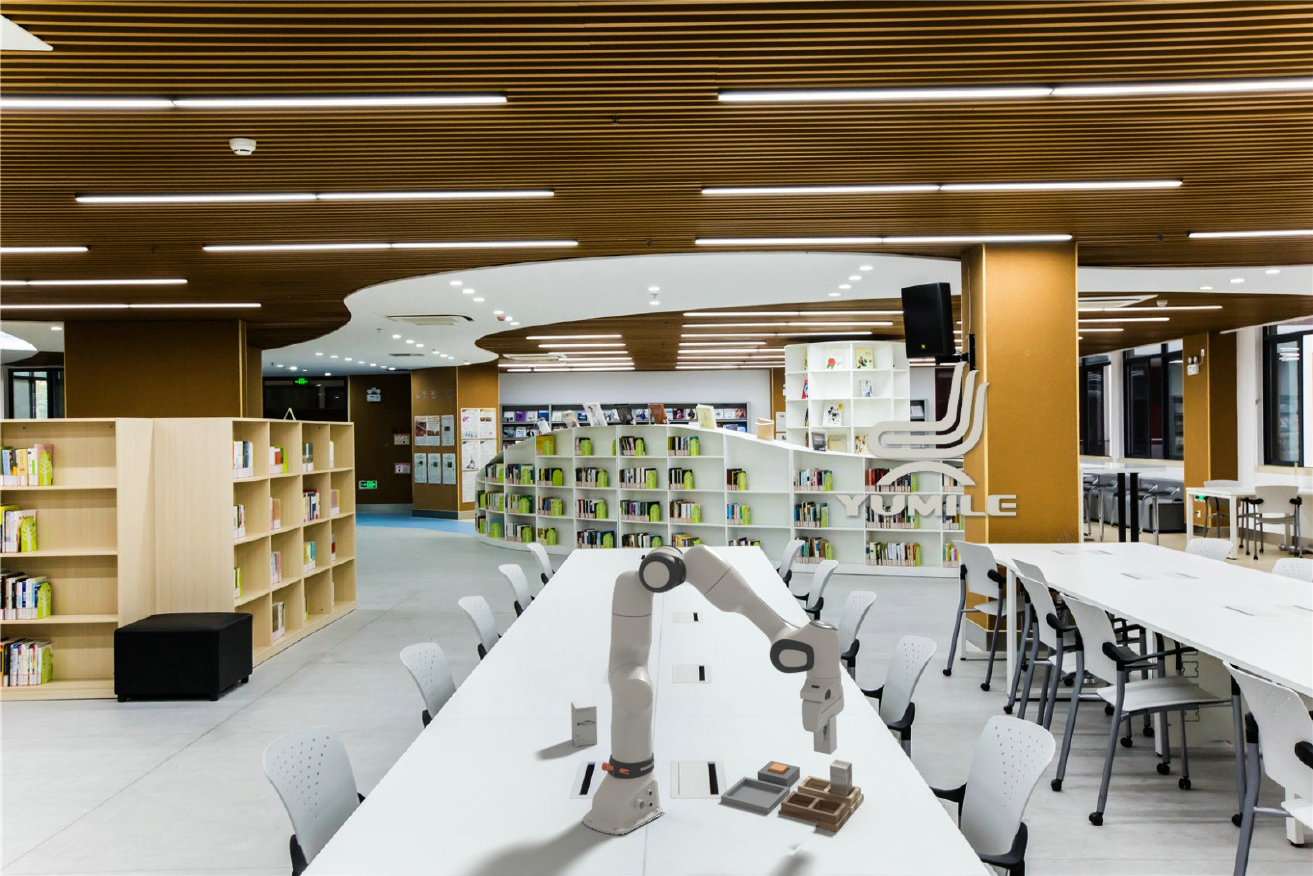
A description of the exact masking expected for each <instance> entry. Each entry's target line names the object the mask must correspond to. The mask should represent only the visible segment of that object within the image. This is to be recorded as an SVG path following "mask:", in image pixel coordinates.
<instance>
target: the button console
mask: <svg viewBox="0 0 1313 876" xmlns="http://www.w3.org/2000/svg"><path fill="white" fill-rule="evenodd" d="M775 763H777V764H781V765H786V766H788V771H787V772H786V773H785V774H783V775H782V774H778V773H774V772H769V768H770V767H771V766H772V765H774V764H775ZM800 769H801V768H800V766H796V765H791V764H786V763H783V762H777V761H772V760H770V761H769V762H768V763H766V765H764V766H763V767H762V768H760V769H759V770H758V771H757V780H760V781H765V782H769V783H773V784H777V785H781V786H785V787H790V788H791V787H792V785H794V784H795V783H796V782H797V781H798V780H799V779H800V778H801V775H800V771H801V770H800Z"/></svg>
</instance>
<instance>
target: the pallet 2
mask: <svg viewBox="0 0 1313 876" xmlns="http://www.w3.org/2000/svg"><path fill="white" fill-rule="evenodd" d="M777 811H778V812H777V813H778V814H781V815H785V816H787V817H791V818H796V819H799V820H803V821H807V822H811V823H815V824H816V825H815V827H816V828H821V829H823V830H827V829H829V830H828V831H831V830H832V831H831V832H835V831H836V833H838V832H837V831H839V830H840V829H841V828H842V827H843V826H842V825H844V824H845V823H846V822H847V821H846V820H848V819H850V818H851V817H850V816H851V814H850V811H849V810H847V804H846V803H841V802H837V801H833V800H829V799H825V798H821V797H817V796H812V795H808V794H804V793H800V792H798V791H795V790H793V791H791V792H790V794H789V795H788V796H787V797H785V798H784V799H783V800H782V801H781V802H780V808H779V810H777Z"/></svg>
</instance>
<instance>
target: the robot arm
mask: <svg viewBox="0 0 1313 876" xmlns="http://www.w3.org/2000/svg"><path fill="white" fill-rule="evenodd" d="M684 583H688V584H690V585H692V586H693V587H694V588H695V589H696V590H697V591H698V592H699V593H700V594H701V595H702V596H703V597H704V598H705V600H707V601H708V602H709V603H710V604H711V605H713V606H714V607H715V608H717V609H718V610H720V611H721V612H724V613H736V614H740V615H742V616H744V617H745V618H747V619H748V620H749V621H750V622H751V623H752V624H754V625H755V626H756V627H757V628H758V629H759V630H760V631H761V632H762V633H763V634H764V635H765V636H766V637H767V638H768V640H769V642H770V650H769V659H770V662H771V664H772V666H773V667H774V668H775V669H776V670H777V671H779V672H781V673H783V674H798V673H804V672H806V675H805V676H806V679H805V681H804V684H803V686H802V687H801V690H800V692H799V697H800V698H799V699H801V700H802V702H801V718H802V719H801V720H802V726H803V729H804V731H805V732H808V733H809V732H810V733H813V732H814V733H815V734H816V741H817V742H818V743H823V742H824V741H825V735H824V734H823V730H824V726H825V725H826V724H828V719H829V718H830V717H831V716H832V715H834V714H836V717H837V716H838V715H839V714H841V712H843V711H844V708H845V699H844V689H843V688H844V687H843V685H842V672H841V668H840V663H841V662H840V661H841V658H842V655H841V654H842V652H841V640H840V634H839V631H838V629H837V628H836V626H834V624H832V623H829V622H827V621H823V620H810V621H809V622H808V623H806V624H805V625H803V626H802V627H801V626H799V625H797V624H794V623H792V622H790V621H788V620H785V619H784V618H782V617H781V616H780V615H779V614H778V613H777V612H776V611H775V610H773V609H772V607H770V606H769V605H768V603H766V602H765V601H764V600H763V599H762V598H761V597H760V596H758V594H757V593H756V592H755V591H754V589H752V587H751V586H750V584H749V583H748V582H747V581H746V579H744V577H743V576H742V575H741V574H740V572H739V571H738V570H737V569H736V568H735V567H734V566H733V565H732V564H731V563H730V562H729V561H728V560H727V559H725V557H723V556H722V555H721V554H720V553H718V552H717V551H716V550H714V549H713V548H711V547H710V546H708V545H707V544H703V543H701V544H700V543H699V544H696V545H694V546H692V547H690V548H689V549H687V551H685V552H684V553H683V552H682V550H680V549H679V548H677V547H676V546H674V545H671V544H663V545H660V546H657V547H656V548H654V549H652V550H650V552H648V554H647V555H646V556H645V557H644V558H643V559H642V560H641V562H640V565H639V568H638V569H637V570H626V571H624V572H621V574H619V575H618V576H617V578H616V579H615V583H614V587H613V594H612V602H611V603H612V604H611V619H610V620H611V621H610V623H611V624H610V629H611V630H610V646H609V656H608V657H609V658H608V669H607V670H608V671H607V673H608V674H607V681H608V685H609V689H610V693H611V723H610V749H611V750H610V751H611V754H610V756H609V759H608V762H605V761H604V762H603V763H602V764H601V770H602V771H606V772H607V773H606V775H605V776H604V778H603V780H602V782H600V785H599V787H598V788H597V790H596V791H595V793H594V795H593V796H592V802H591V809H590V810H589V811H588V812H587V813H585V815H584V816H583V817H582V823H583V822H584V823H583V824H584V825H585V824H586V825H587V826H586V825H585V826H586V827H588V826H589V827H588V828H590V829H592V828H593V829H592V830H595V829H596V830H595V831H598V832H601V833H605V834H609V833H611V834H610V835H618V834H622V835H625V834H624V833H627V832H629V831H631V830H632V829H635V828H636V827H638V826H640V825H641V824H644V823H646V822H648V821H649V820H651V819H654V818H655V817H656V816H658V815H661V814H662V813H663V814H664V809H663V808H662V807H661V804H660V794H659V787H658V786H659V785H658V781H657V779H656V776H655V772H654V769H655V755H654V753H653V736H652V735H653V733H652V731H653V730H652V725H653V724H652V723H653V715H654V711H653V710H654V684H653V680H652V679H651V677H650V673H649V661H650V652H651V645H652V641H653V639H652V637H653V602H654V595H655V593H656V594H663V593H667V592H669V591H671V590H674V589H675V588H676V587H678V586H680V585H683V584H684ZM814 733H813V734H814ZM661 816H662V815H661ZM654 820H655V819H654ZM648 823H649V822H648ZM646 824H647V823H646ZM644 825H645V824H644ZM640 827H641V826H640ZM638 828H639V827H638ZM635 830H636V829H635ZM631 832H632V831H631ZM613 833H614V834H613ZM629 833H630V832H629ZM627 834H628V833H627Z"/></svg>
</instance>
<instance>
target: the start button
mask: <svg viewBox="0 0 1313 876" xmlns="http://www.w3.org/2000/svg"><path fill="white" fill-rule="evenodd" d="M787 771H788V766H786V765H781V764H777V763H775V764H774V765H772V766H771V767H770V768H769V772H774V773H778V774H782V775H783V774H785V773H786V772H787Z"/></svg>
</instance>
